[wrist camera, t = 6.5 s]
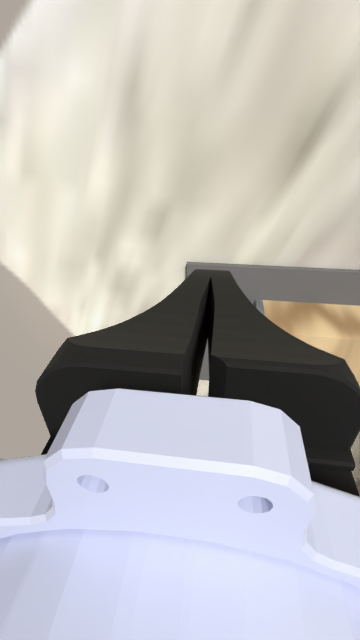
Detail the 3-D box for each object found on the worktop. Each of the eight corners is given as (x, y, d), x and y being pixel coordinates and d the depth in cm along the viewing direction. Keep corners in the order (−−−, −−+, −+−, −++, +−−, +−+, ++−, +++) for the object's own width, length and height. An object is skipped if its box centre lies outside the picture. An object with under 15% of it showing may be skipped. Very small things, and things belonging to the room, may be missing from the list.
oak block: (255, 299, 23) (372, 306, 22) (246, 361, 27) (347, 369, 26) (259, 332, 20) (396, 342, 19) (248, 398, 23) (364, 409, 22)
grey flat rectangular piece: (415, 272, 21) (418, 275, 21) (362, 390, 27) (363, 393, 27) (187, 261, 23) (186, 264, 22) (186, 374, 29) (186, 378, 28)
